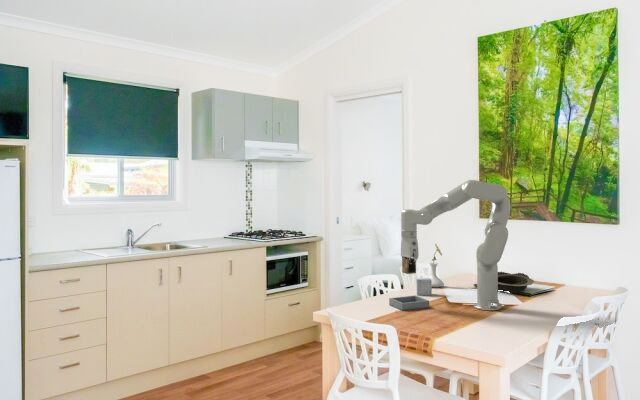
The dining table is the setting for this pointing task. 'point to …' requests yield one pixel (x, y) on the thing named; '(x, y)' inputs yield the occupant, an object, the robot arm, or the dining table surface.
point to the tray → (409, 303)
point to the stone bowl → (513, 282)
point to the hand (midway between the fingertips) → (409, 270)
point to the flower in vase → (435, 280)
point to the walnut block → (406, 266)
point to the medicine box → (424, 286)
